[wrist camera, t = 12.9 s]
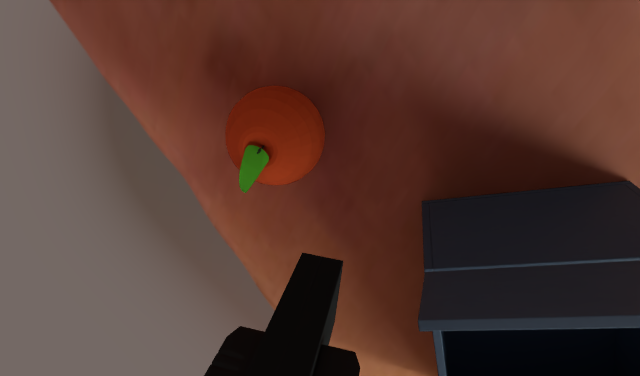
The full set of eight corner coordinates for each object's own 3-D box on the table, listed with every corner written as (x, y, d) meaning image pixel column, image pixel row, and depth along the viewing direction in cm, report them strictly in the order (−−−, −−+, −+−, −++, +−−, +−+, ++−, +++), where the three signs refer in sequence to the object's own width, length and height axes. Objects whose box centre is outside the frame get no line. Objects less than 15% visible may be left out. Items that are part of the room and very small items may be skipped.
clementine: (303, 191, 34) (277, 233, 28) (230, 150, 34) (187, 182, 27) (349, 107, 30) (331, 132, 24) (267, 61, 30) (228, 74, 24)
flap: (425, 278, 23) (424, 271, 23) (731, 263, 19) (730, 255, 19) (418, 331, 14) (417, 320, 14) (982, 322, 10) (979, 307, 10)
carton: (421, 201, 32) (424, 277, 23) (629, 180, 28) (733, 261, 19) (444, 381, 38) (454, 498, 29) (617, 383, 35) (690, 518, 25)
